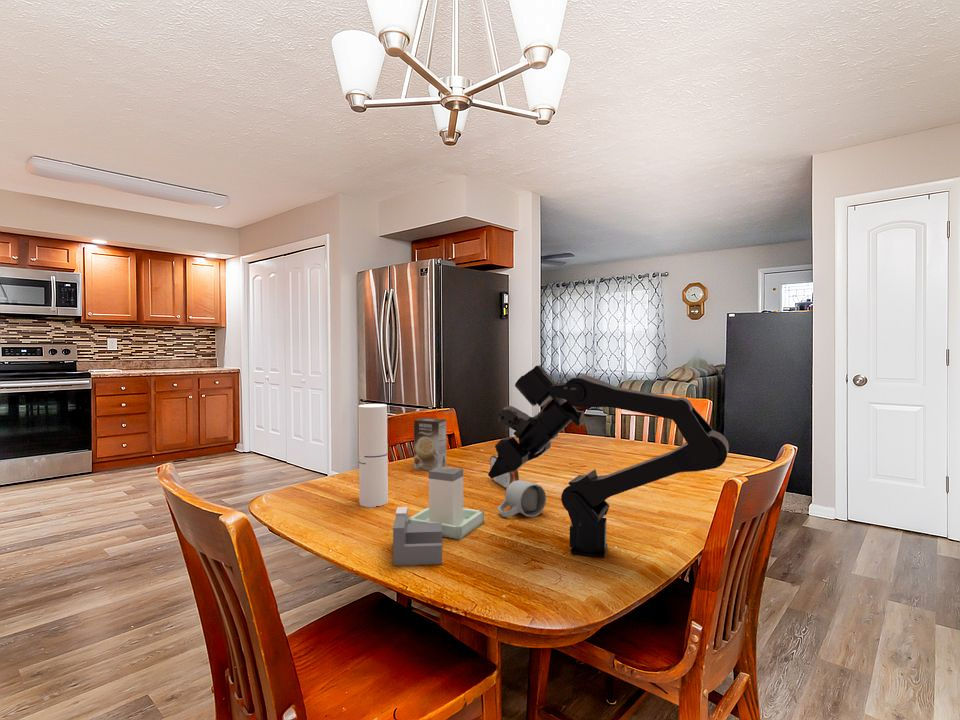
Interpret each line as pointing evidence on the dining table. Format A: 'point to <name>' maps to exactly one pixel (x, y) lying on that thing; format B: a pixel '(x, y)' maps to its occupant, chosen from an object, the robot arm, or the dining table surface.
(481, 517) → the tray
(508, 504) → the ceramic mug
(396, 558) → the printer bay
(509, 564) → the dining table surface
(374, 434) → the cylindrical container
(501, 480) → the tin
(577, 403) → the robot arm
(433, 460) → the coffee box
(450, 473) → the block
